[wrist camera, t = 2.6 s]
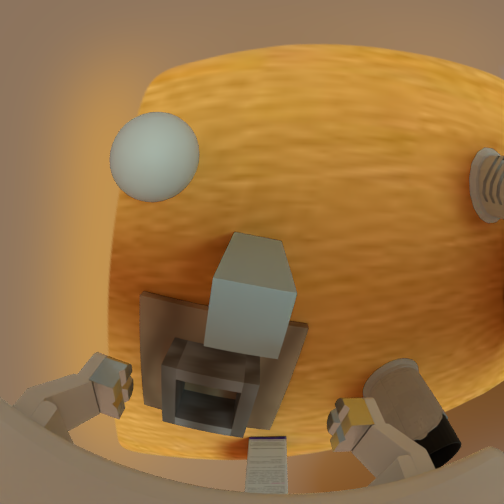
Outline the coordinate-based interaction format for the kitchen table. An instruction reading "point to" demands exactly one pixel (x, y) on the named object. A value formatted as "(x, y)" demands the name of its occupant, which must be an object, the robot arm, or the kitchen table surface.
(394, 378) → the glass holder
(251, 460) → the supplement box
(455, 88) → the kitchen table surface
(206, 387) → the socket
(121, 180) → the lightbulb
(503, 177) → the french press
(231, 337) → the peg
